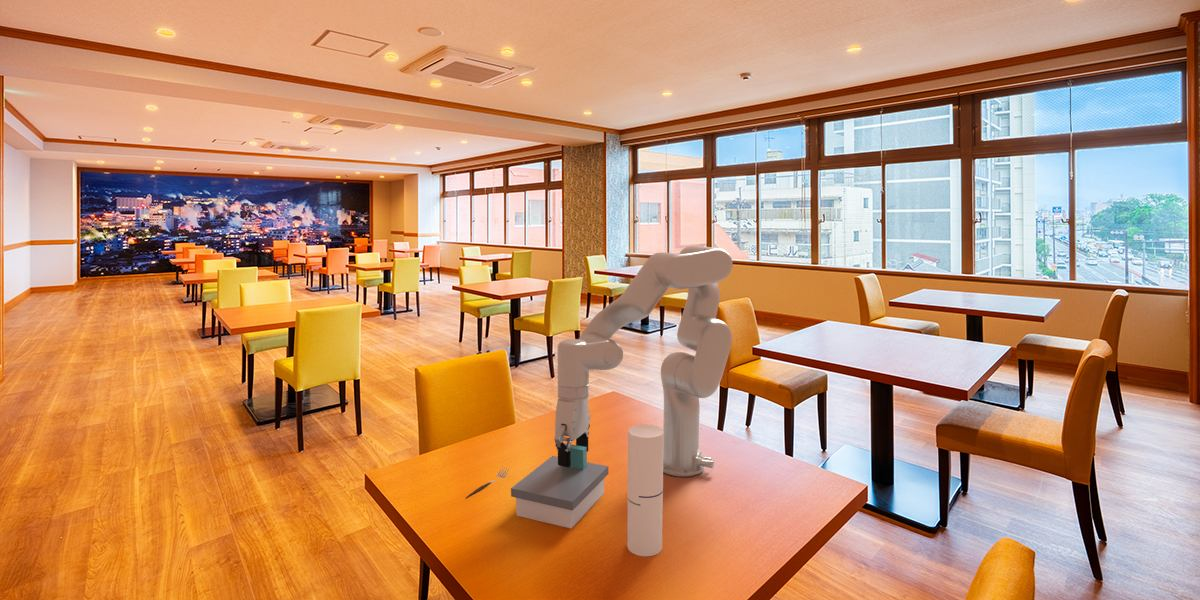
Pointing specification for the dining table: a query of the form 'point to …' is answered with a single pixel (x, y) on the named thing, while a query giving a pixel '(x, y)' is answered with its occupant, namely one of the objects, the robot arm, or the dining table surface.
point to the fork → (488, 483)
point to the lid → (561, 481)
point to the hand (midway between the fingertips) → (573, 458)
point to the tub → (558, 509)
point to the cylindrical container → (645, 489)
